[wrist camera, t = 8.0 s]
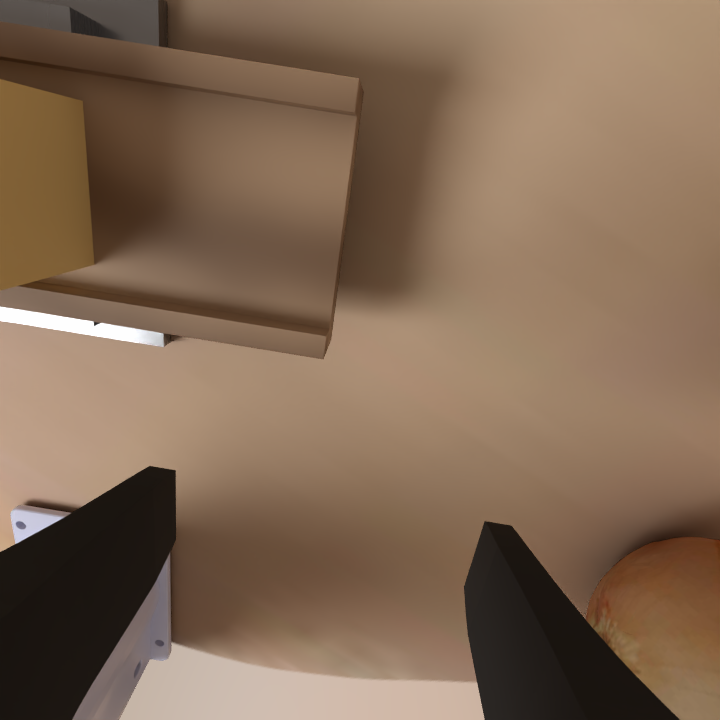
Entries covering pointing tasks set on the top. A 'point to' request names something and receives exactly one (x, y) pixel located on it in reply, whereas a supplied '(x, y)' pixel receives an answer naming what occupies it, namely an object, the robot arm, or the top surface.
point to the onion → (666, 621)
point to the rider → (42, 186)
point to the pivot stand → (107, 20)
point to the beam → (200, 189)
